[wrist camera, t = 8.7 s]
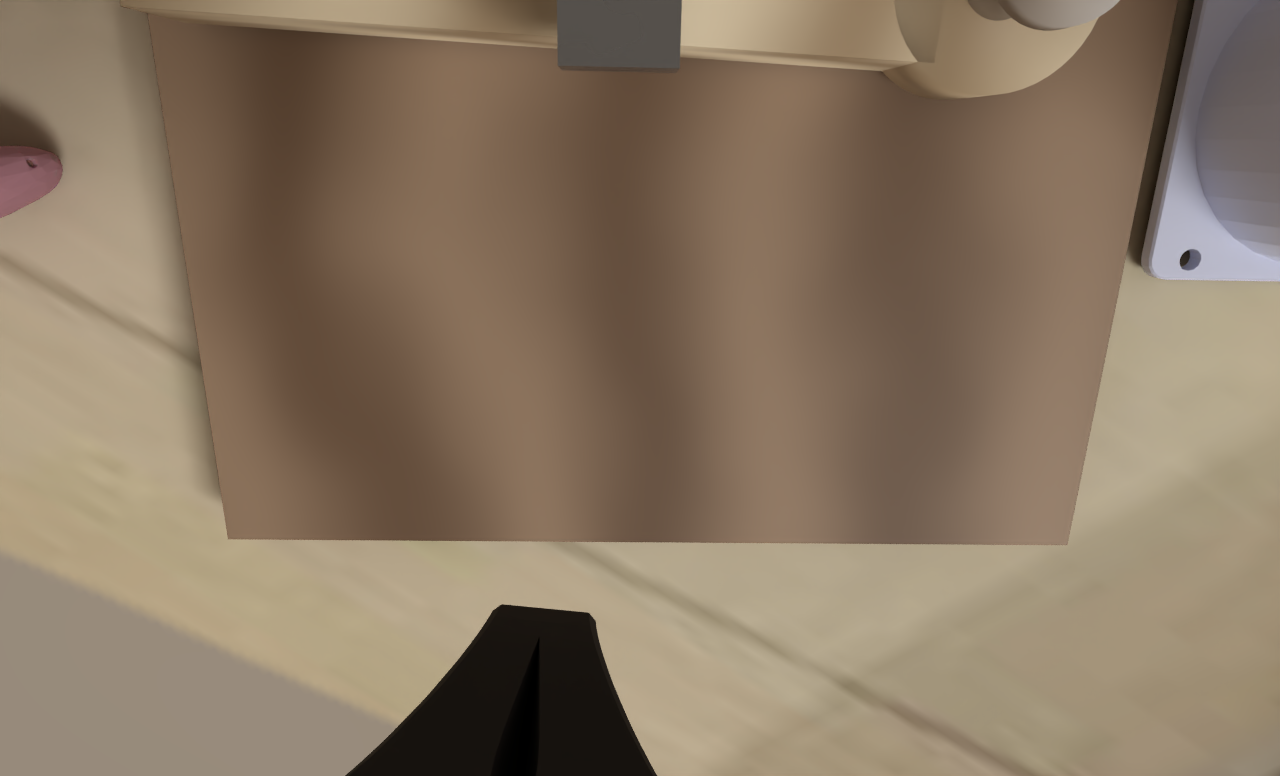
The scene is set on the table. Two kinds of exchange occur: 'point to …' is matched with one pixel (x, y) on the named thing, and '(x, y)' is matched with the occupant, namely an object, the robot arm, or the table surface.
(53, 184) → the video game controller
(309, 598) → the table surface
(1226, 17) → the robot arm
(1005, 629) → the table surface
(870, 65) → the wooden link
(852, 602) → the table surface
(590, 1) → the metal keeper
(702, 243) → the walnut board
